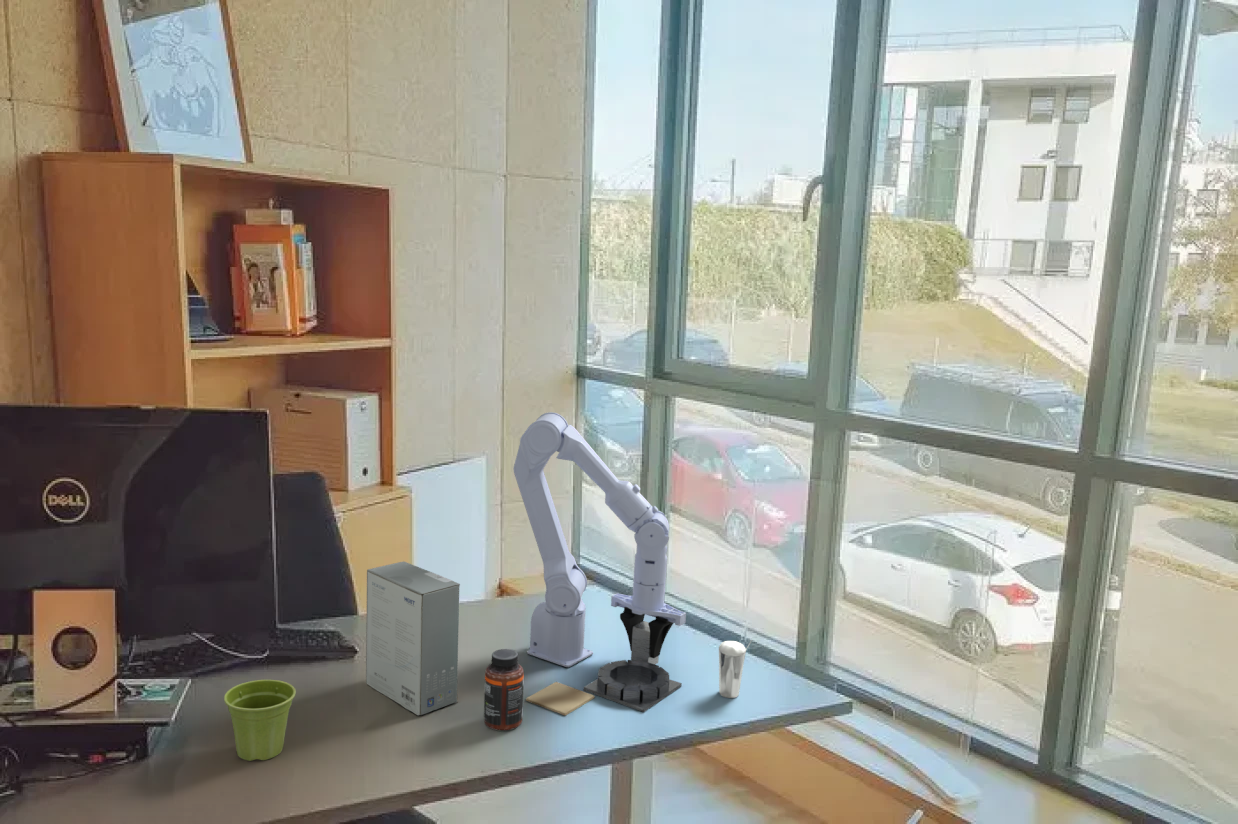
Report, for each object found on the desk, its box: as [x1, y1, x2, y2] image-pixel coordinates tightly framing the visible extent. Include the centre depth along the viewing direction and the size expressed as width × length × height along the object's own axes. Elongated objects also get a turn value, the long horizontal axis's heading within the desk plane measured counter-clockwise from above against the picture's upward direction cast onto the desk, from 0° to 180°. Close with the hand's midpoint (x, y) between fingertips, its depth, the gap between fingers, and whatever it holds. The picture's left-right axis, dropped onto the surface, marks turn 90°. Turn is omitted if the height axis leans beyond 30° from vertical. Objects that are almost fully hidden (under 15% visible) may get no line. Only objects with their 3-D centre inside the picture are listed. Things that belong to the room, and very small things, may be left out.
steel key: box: [630, 620, 660, 665], centre depth 171 cm, size 4×4×7 cm
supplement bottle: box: [483, 648, 525, 731], centre depth 146 cm, size 6×6×11 cm
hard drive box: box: [365, 560, 461, 716], centre depth 154 cm, size 16×8×20 cm, turn 47°
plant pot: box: [223, 679, 297, 762], centre depth 135 cm, size 9×9×9 cm
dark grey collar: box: [582, 659, 683, 713], centre depth 161 cm, size 12×12×2 cm
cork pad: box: [525, 681, 596, 716], centre depth 156 cm, size 8×8×1 cm
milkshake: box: [718, 639, 753, 699], centre depth 160 cm, size 4×5×10 cm
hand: (645, 652), depth 171 cm, fingers open, 4 cm apart
